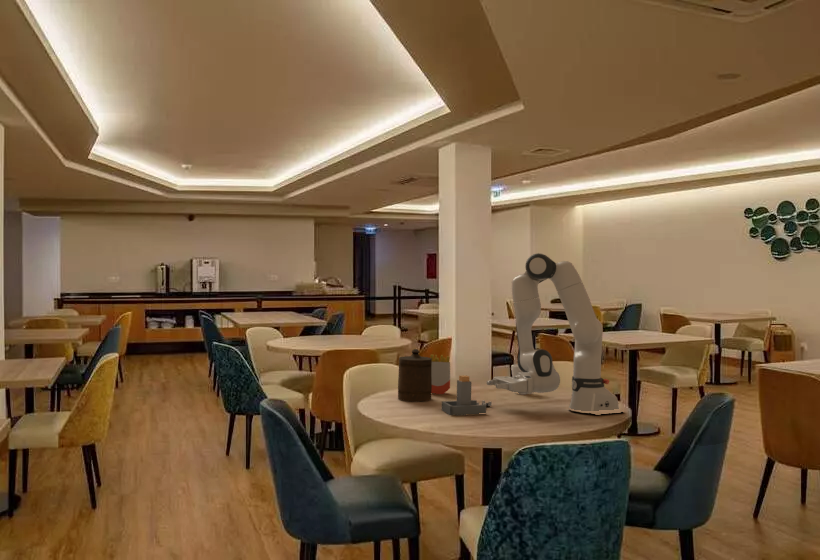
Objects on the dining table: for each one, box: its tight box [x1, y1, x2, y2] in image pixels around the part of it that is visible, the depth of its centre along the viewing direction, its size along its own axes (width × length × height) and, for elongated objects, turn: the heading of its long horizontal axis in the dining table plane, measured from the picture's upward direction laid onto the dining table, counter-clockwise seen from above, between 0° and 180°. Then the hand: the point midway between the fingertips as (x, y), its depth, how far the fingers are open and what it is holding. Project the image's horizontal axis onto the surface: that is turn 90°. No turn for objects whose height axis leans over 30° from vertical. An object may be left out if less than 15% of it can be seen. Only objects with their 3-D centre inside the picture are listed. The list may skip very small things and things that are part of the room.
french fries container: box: [429, 354, 451, 395], centre depth 321 cm, size 5×11×18 cm, turn 80°
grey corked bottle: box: [456, 375, 472, 406], centre depth 278 cm, size 4×4×14 cm
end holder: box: [441, 399, 487, 416], centre depth 278 cm, size 15×11×4 cm
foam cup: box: [510, 363, 522, 377], centre depth 326 cm, size 10×9×13 cm
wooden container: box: [397, 348, 432, 403], centre depth 306 cm, size 15×15×22 cm
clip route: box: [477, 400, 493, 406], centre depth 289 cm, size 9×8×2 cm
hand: (491, 384), depth 282 cm, fingers open, 8 cm apart
